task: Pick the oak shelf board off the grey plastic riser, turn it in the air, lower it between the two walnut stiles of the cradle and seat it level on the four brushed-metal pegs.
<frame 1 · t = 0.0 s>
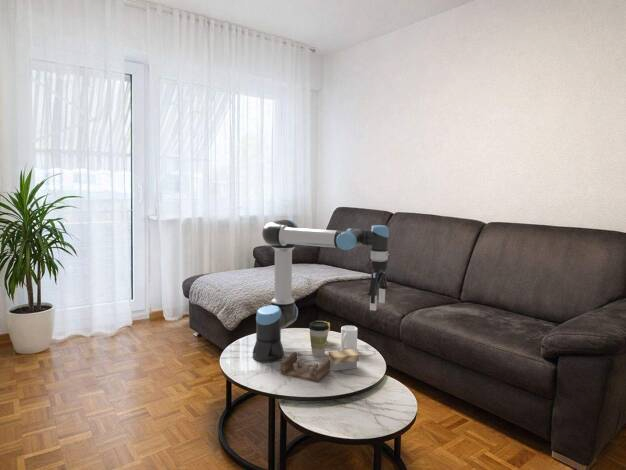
hand: (377, 306, 191), 28 cm above the table, fingers open, 13 cm apart
plant pot: (319, 342, 224), on the table
board: (343, 359, 191), point 4 cm above the table, touching riser
coffee cup: (318, 353, 208), on the table
cradle: (305, 372, 186), on the table
riser: (343, 368, 191), on the table
mug: (347, 352, 210), on the table
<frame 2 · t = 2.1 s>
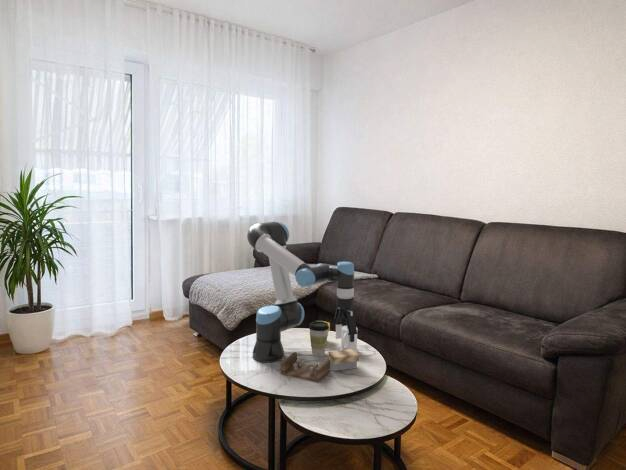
hand: (344, 343, 190), 12 cm above the table, fingers open, 13 cm apart
nothing on the table moved.
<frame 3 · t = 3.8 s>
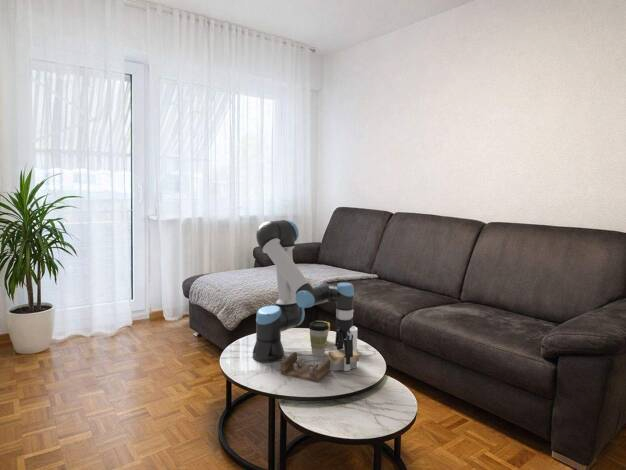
hand: (343, 366, 191), 1 cm above the table, fingers closed on board, 7 cm apart
board: (343, 359, 191), point 4 cm above the table, touching gripper, riser
everything else where it was.
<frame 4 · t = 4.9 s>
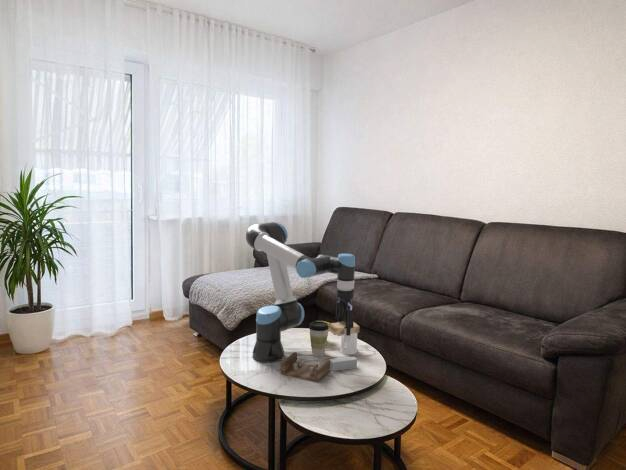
hand: (343, 338, 190), 14 cm above the table, fingers closed on board, 7 cm apart
board: (343, 331, 190), point 17 cm above the table, touching gripper
everything else where it was.
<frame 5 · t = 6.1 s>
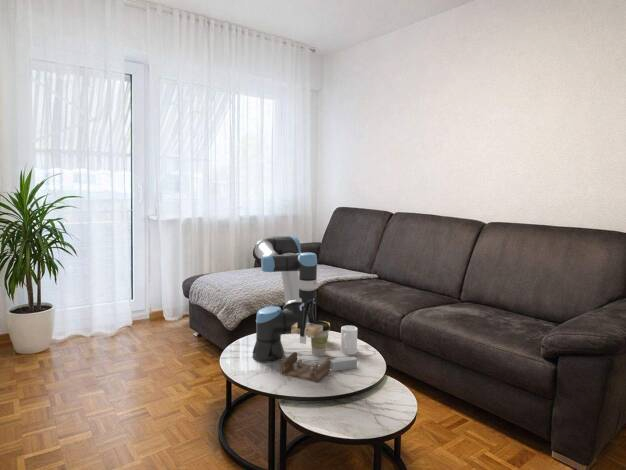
hand: (306, 340, 185), 15 cm above the table, fingers closed on board, 7 cm apart
board: (307, 332, 184), point 18 cm above the table, touching gripper
everything else where it was.
when the fingers open (2 cm above the table, at t = 8.0 s): board drops 1 cm, resting on cradle.
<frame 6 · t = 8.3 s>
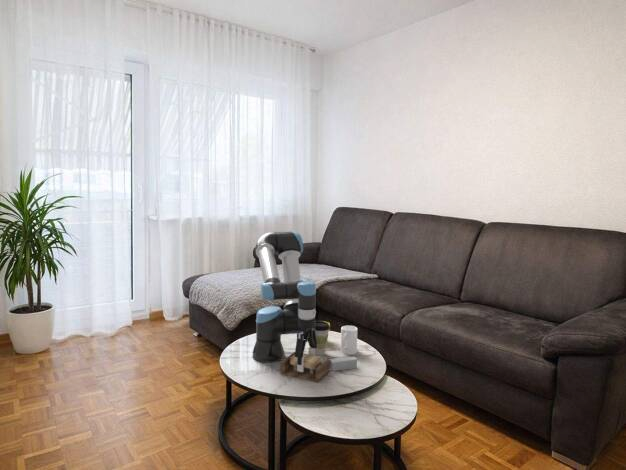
hand: (305, 366, 186), 3 cm above the table, fingers open, 10 cm apart
board: (306, 363, 186), point 4 cm above the table, touching cradle
coffee cup: (318, 353, 208), on the table, touching arm
everything else where it was.
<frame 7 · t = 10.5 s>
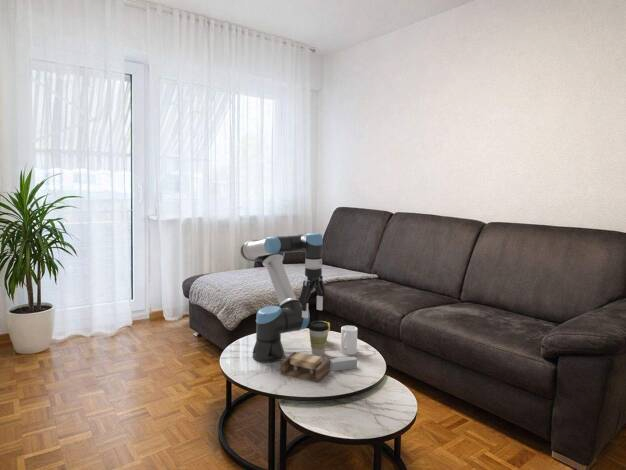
hand: (312, 313, 192), 24 cm above the table, fingers open, 13 cm apart
coffee cup: (318, 353, 208), on the table
everything else where it was.
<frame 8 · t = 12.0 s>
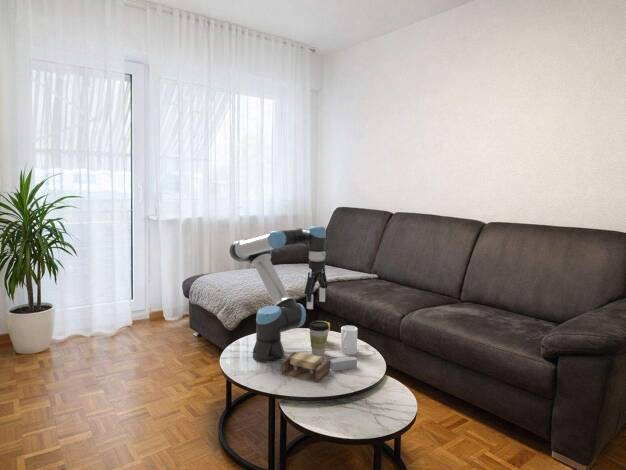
hand: (316, 305, 197), 27 cm above the table, fingers open, 13 cm apart
nothing on the table moved.
at the end: board 0.0 cm off-centre on the cradle, point 4.0 cm above the cradle's base; board tilted 0°; the gripper is holding nothing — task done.
